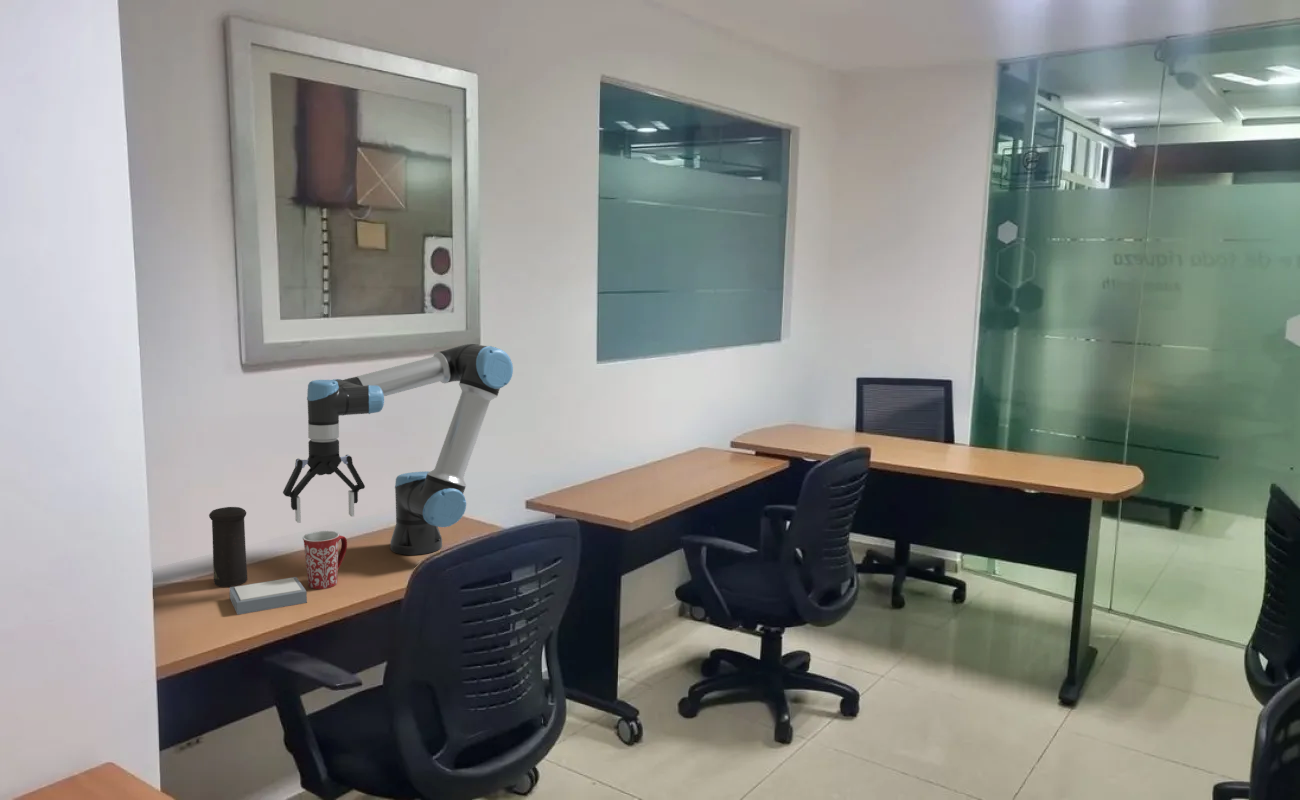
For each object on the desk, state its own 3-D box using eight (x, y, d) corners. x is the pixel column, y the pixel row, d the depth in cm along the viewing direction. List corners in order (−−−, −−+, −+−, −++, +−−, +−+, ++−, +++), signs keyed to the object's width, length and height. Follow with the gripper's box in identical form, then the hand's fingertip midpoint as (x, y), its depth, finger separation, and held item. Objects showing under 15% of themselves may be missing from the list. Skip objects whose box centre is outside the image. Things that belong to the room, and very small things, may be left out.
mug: (320, 593, 229) (318, 542, 227) (297, 586, 234) (295, 536, 232) (358, 579, 240) (357, 531, 238) (335, 572, 244) (334, 525, 243)
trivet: (296, 587, 233) (296, 575, 232) (306, 602, 223) (306, 590, 222) (230, 598, 224) (229, 586, 223) (237, 614, 214) (236, 601, 213)
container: (235, 573, 242) (232, 502, 239) (256, 580, 237) (253, 508, 234) (205, 583, 234) (201, 509, 231) (226, 590, 230) (222, 515, 227)
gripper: (368, 433, 241) (368, 509, 244) (269, 440, 227) (272, 520, 230) (376, 438, 235) (376, 516, 238) (275, 445, 221) (277, 527, 224)
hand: (325, 518), depth 234 cm, fingers open, 13 cm apart
